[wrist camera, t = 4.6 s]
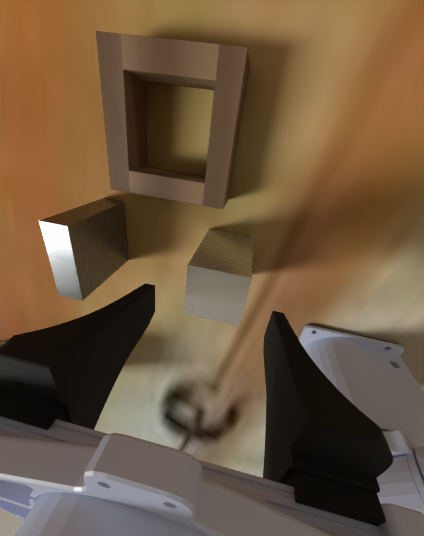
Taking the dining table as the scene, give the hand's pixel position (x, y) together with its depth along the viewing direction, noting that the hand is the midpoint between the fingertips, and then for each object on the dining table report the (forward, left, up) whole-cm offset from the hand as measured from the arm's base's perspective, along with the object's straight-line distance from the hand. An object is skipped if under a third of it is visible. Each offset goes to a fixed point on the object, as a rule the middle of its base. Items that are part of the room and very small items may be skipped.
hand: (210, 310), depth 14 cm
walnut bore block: (+5, -9, -8) cm, 13 cm away
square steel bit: (0, 0, -8) cm, 9 cm away
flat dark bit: (+11, 0, -8) cm, 14 cm away
